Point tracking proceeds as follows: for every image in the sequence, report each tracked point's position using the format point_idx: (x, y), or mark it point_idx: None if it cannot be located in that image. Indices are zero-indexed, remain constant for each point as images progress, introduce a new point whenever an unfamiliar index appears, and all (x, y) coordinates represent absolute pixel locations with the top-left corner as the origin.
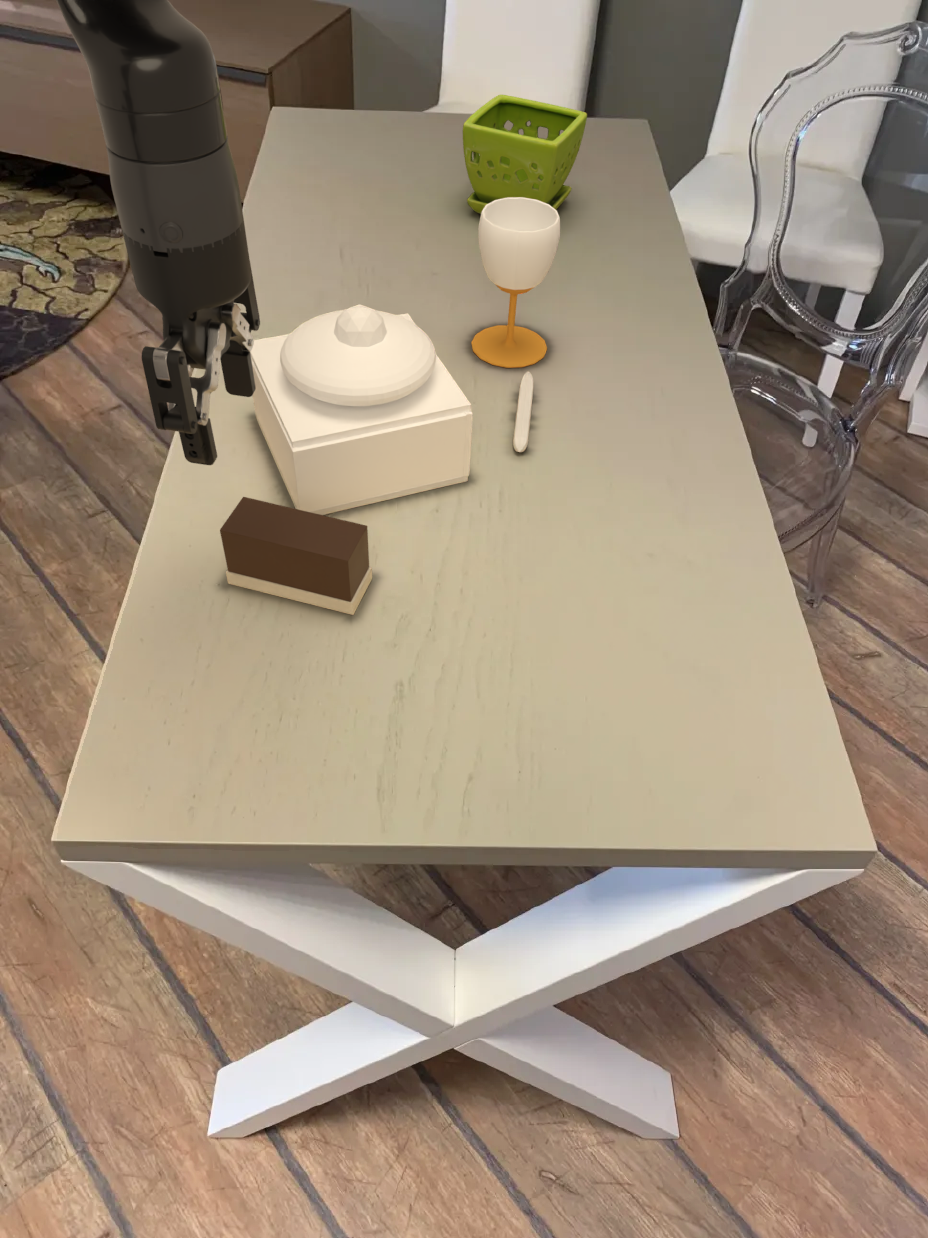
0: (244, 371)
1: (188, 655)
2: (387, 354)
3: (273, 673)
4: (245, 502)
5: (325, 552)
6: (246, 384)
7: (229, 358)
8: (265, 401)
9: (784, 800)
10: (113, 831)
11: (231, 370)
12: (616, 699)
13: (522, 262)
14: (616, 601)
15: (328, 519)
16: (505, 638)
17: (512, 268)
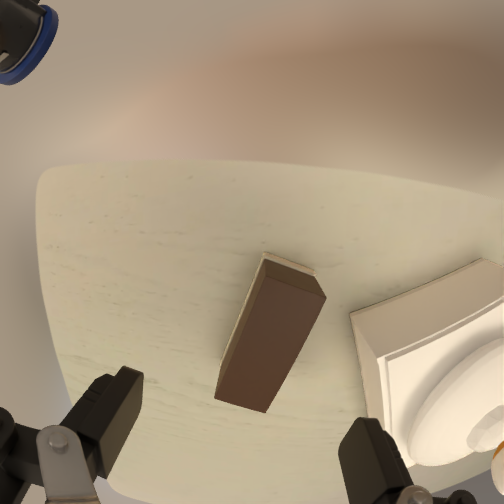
0: (352, 485)
1: (171, 224)
2: (449, 452)
3: (155, 298)
4: (314, 301)
5: (225, 382)
6: (345, 463)
7: (371, 492)
8: (473, 302)
9: (124, 486)
10: (37, 199)
11: (365, 468)
12: (163, 465)
13: (499, 475)
14: (237, 480)
15: (277, 384)
16: (203, 438)
17: (501, 467)
